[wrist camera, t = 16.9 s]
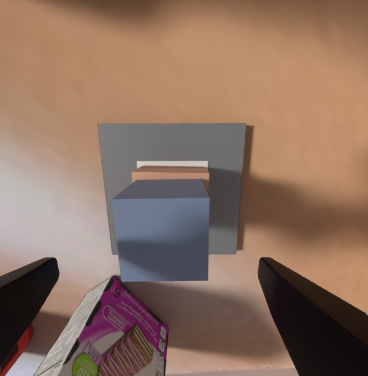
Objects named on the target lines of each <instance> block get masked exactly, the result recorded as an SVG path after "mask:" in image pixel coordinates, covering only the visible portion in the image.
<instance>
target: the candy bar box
mask: <svg viewBox="0 0 368 376" xmlns="http://www.w3.org/2000/svg"><path fill="white" fill-rule="evenodd" d="M168 333H169V329H168V328H167V327H166V326H165V325H164V324H163V323H162V322H161V321H160V320H159V319H158V318H157V317H156V316H155V315H153V314H152V313H151V312H150V311H149V310H148V309H147V308H146V307H145V306H144V305H143V304H142V303H141V302H140V301H139V300H138V299H137V298H136V297H135V296H134V295H133V294H132V293H130V292H129V291H128V290H127V289H126V288H125V287H124V286H123V285H122V284H121V283H120V282H119V281H118V280H117V279H116V278H115V277H114V276H111V277H110V278H108V279H107V280H106V281H105V282H103V283H102V284H101V285H99V286H98V287H96V288H95V289H93V290H92V291H91V292H89V293H87V294H86V296H85V297H84V299H83V300H82V302H81V303H80V305H79V306H78V308H77V309H76V311H75V313H74V314H73V316H72V317H71V319H70V320H69V322H68V323H67V325H66V326H65V328H64V330H63V331H62V333H61V334H60V336H59V337H58V339H57V340H56V342H55V343H54V345H53V347H52V348H51V350H50V351H49V353H48V354H47V356H46V357H45V359H44V360H43V362H42V363H41V365H40V366H39V368H38V370H37V371H36V373H35V374H34V375H33V376H165V369H166V356H167V345H168Z"/></svg>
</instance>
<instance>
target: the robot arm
mask: <svg viewBox="0 0 368 376" xmlns="http://www.w3.org/2000/svg"><path fill="white" fill-rule="evenodd" d="M58 278H59V269H58V264H57V260H56V258H54V257H46V258H42V259H40V260H38V261H35V262H33V263H31V264H28V265H26V266H23V267H21V268H19V269H16V270H14V271H12V272H9V273H7V274H5V275H2V276H0V367H1V366H2V364H3V363H4V361H5V360H6V358H7V357H8V356H9V354H10V353H11V351H12V350H13V348H14V347H15V346H16V344H17V343H18V341H19V340H20V339H21V337H22V336H23V334H24V333H25V331H26V330H27V329H28V327H29V326H30V324H31V323H32V321H33V320H34V318H35V317H36V315H37V314H38V312H39V311H40V309H41V307H42V306H43V304H44V302H45V301H46V299H47V297H48V296H49V294H50V292H51V290H52V289H53V287H54V285H55V284H56V282H57V280H58ZM258 279H259V282H260V284H261V287H262V290H263V293H264V296H265V299H266V302H267V304H268V307H269V310H270V313H271V315H272V318H273V320H274V322H275V324H276V327H277V329H278V331H279V333H280V335H281V337H282V340H283V342H284V344H285V346H286V348H287V350H288V353H289V355H290V357H291V359H292V361H293V363H294V366H295V368H296V370H297V372H298V374H299V376H368V316H367V314H366V313H364V312H363V311H361V310H359V309H358V308H356V307H354V306H352V305H351V304H349V303H347V302H346V301H344V300H342V299H341V298H339V297H337V296H335V295H334V294H332V293H330V292H329V291H327V290H325V289H323V288H322V287H320V286H318V285H317V284H315V283H313V282H311V281H310V280H308V279H306V278H305V277H303V276H301V275H299V274H298V273H296V272H294V271H293V270H291V269H289V268H287V267H286V266H284V265H282V264H281V263H279V262H277V261H275V260H274V259H272V258H270V257H261V258H260V260H259V268H258Z"/></svg>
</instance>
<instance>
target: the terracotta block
mask: <svg viewBox="0 0 368 376" xmlns="http://www.w3.org/2000/svg"><path fill="white" fill-rule="evenodd" d="M149 179H201V180H202V183H203V185H204V187H205V189H206V191H207V193H208V188H209V172H208V171H207V170H206V169H205V167H199V166H149V165H143V166H141V167H139V168H138V169H136V170H134V171H132V183H133V182H134V181H136V180H149Z"/></svg>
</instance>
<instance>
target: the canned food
mask: <svg viewBox="0 0 368 376" xmlns="http://www.w3.org/2000/svg"><path fill="white" fill-rule="evenodd" d="M31 337H32V328H31V325H30V326H29V327H28V329H27V330H26V331H25V333H24V334H23V336H22V337H21V339H20V340H19V341H18V343H17V344H16V346H15V347H14V348H13V350H12V351H11V353H10V354H9V356H8V357H7V358H6V360H5V361H4V363H3V364H2V366H1V367H0V376H5V375H6V374H7V372H8V371H9V370H10V368H11V367H12V366H13V364H14V363H15V362H16V361H17V359H18V358H19V357H20V355H21V354H22V353H23V351H24V350H25V349H26V347H27V345H28V343H29V341H30V339H31Z"/></svg>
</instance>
